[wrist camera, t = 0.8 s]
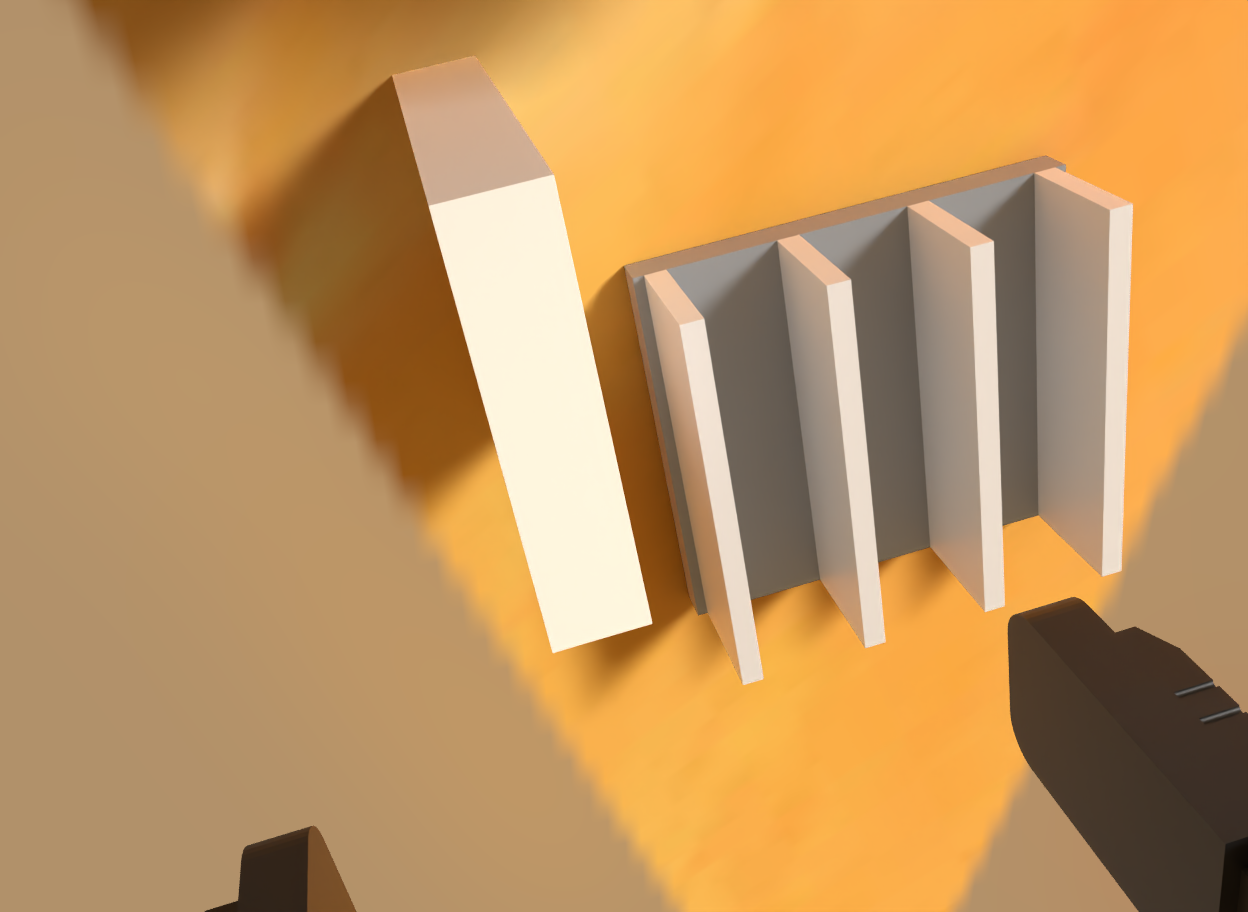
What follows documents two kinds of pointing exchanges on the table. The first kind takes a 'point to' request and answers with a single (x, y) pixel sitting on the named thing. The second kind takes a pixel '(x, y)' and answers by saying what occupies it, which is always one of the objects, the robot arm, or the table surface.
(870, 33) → the table surface
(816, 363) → the dish rack
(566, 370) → the cream upright slab
